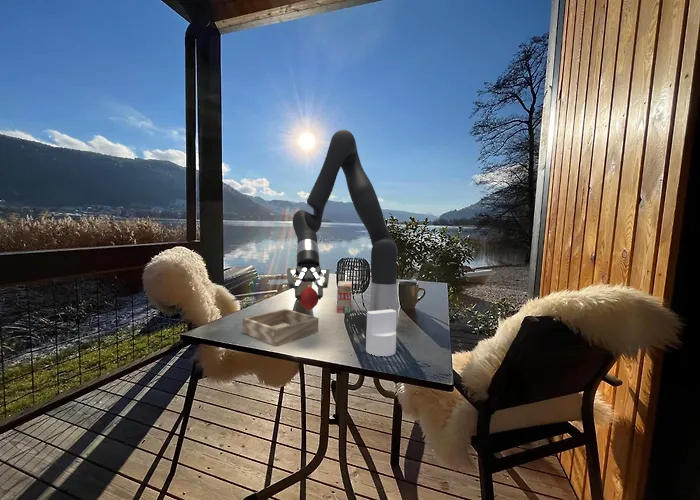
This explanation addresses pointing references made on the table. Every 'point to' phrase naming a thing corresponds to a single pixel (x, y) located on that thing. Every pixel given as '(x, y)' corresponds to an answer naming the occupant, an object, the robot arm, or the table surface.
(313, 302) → the onion
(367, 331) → the cylinder with rectangular tab
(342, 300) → the cardboard carton
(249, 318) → the wooden box
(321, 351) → the table surface
